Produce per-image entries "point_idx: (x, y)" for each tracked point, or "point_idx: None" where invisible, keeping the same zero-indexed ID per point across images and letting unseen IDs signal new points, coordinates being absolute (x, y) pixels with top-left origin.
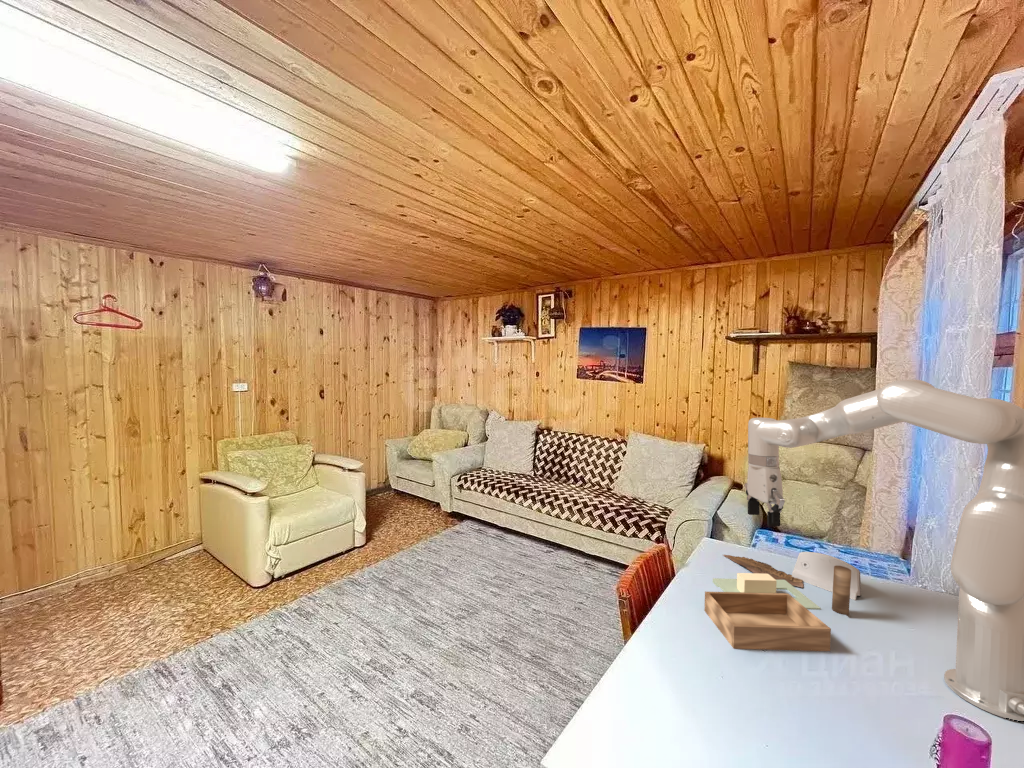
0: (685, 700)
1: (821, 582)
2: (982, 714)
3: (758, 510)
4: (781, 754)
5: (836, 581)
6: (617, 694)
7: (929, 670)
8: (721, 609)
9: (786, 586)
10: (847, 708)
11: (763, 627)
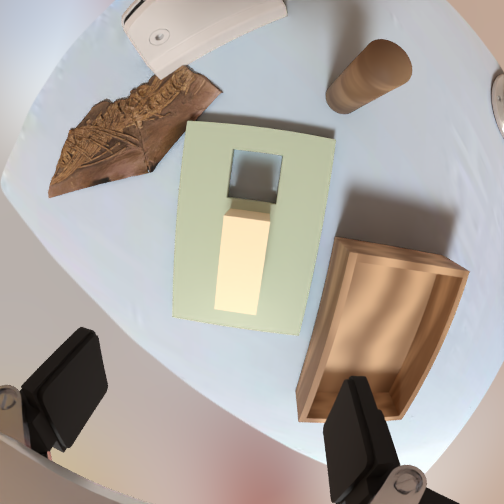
0: (415, 446)
1: (218, 36)
2: None
3: (81, 356)
4: (479, 400)
5: (376, 95)
6: None
7: (486, 126)
8: None
9: (223, 143)
10: (492, 317)
11: (422, 383)
